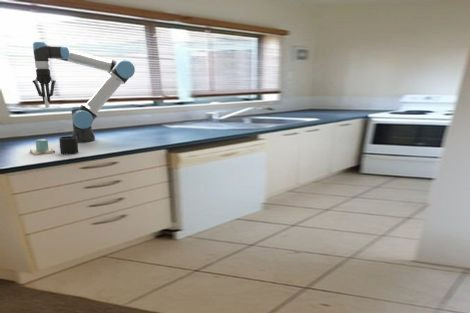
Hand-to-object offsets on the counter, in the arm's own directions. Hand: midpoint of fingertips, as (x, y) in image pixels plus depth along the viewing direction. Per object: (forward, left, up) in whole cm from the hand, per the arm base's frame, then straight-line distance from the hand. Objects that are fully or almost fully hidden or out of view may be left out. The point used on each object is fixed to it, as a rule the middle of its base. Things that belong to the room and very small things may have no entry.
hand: (47, 107), depth 222 cm
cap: (+8, +17, -23) cm, 30 cm away
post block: (+8, +17, -24) cm, 31 cm away
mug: (-4, +26, -24) cm, 36 cm away
